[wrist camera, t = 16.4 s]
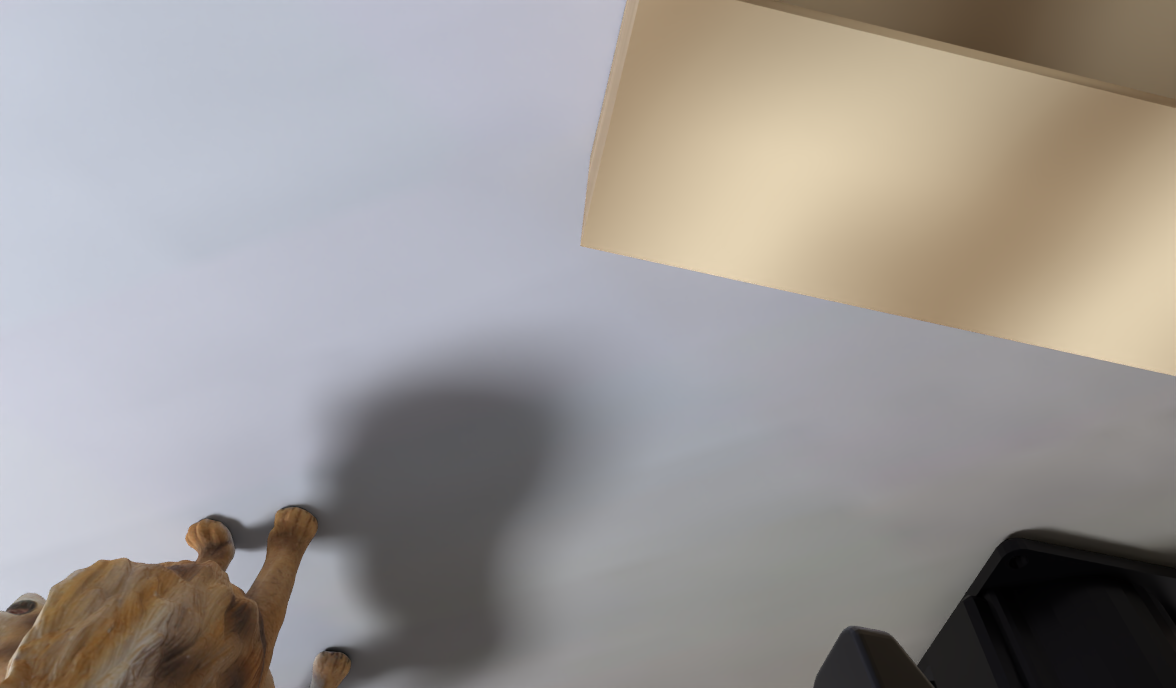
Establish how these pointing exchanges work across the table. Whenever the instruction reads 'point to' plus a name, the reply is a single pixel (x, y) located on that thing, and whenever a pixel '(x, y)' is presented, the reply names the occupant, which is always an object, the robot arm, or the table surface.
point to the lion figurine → (163, 620)
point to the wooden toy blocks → (907, 160)
